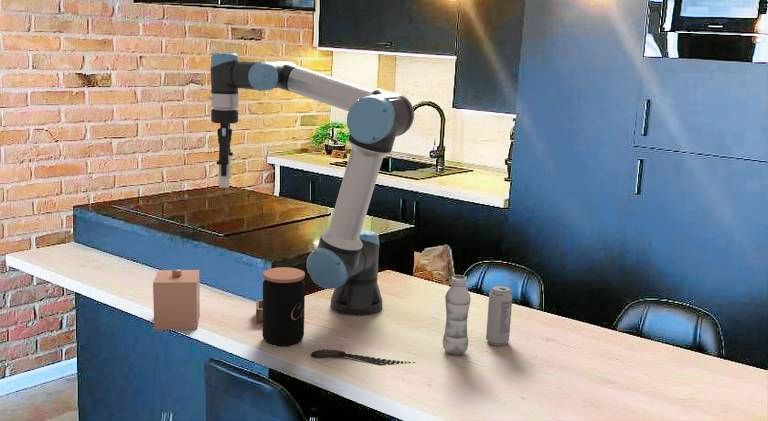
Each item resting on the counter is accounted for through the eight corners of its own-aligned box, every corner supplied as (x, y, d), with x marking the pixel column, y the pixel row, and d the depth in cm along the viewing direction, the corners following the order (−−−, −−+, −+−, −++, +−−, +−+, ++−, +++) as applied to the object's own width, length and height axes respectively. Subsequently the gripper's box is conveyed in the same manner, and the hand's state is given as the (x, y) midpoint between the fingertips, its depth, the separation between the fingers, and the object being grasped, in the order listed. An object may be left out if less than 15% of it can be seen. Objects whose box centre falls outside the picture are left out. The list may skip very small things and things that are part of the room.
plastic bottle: (451, 359, 199) (455, 282, 195) (437, 349, 205) (441, 274, 201) (472, 355, 202) (477, 279, 198) (458, 345, 208) (462, 272, 204)
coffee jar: (296, 349, 201) (297, 281, 198) (256, 344, 203) (256, 277, 200) (309, 334, 212) (310, 269, 208) (270, 330, 214) (271, 265, 210)
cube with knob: (199, 314, 223) (199, 264, 220) (196, 329, 212) (196, 276, 209) (159, 315, 221) (157, 264, 218) (154, 329, 211) (152, 276, 207)
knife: (422, 375, 193) (424, 365, 197) (423, 368, 192) (425, 359, 197) (308, 361, 196) (313, 352, 201) (308, 355, 195) (313, 346, 200)
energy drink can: (495, 336, 216) (499, 283, 212) (513, 343, 212) (517, 288, 208) (481, 341, 212) (484, 287, 208) (499, 348, 207) (503, 293, 204)
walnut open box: (291, 312, 227) (291, 299, 226) (292, 322, 220) (293, 309, 219) (256, 313, 226) (256, 299, 225) (256, 323, 218) (256, 309, 217)
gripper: (213, 104, 237) (213, 174, 242) (208, 112, 213) (209, 191, 218) (239, 104, 238) (239, 174, 243) (237, 113, 214) (237, 191, 219)
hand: (225, 182), depth 230 cm, fingers open, 13 cm apart
